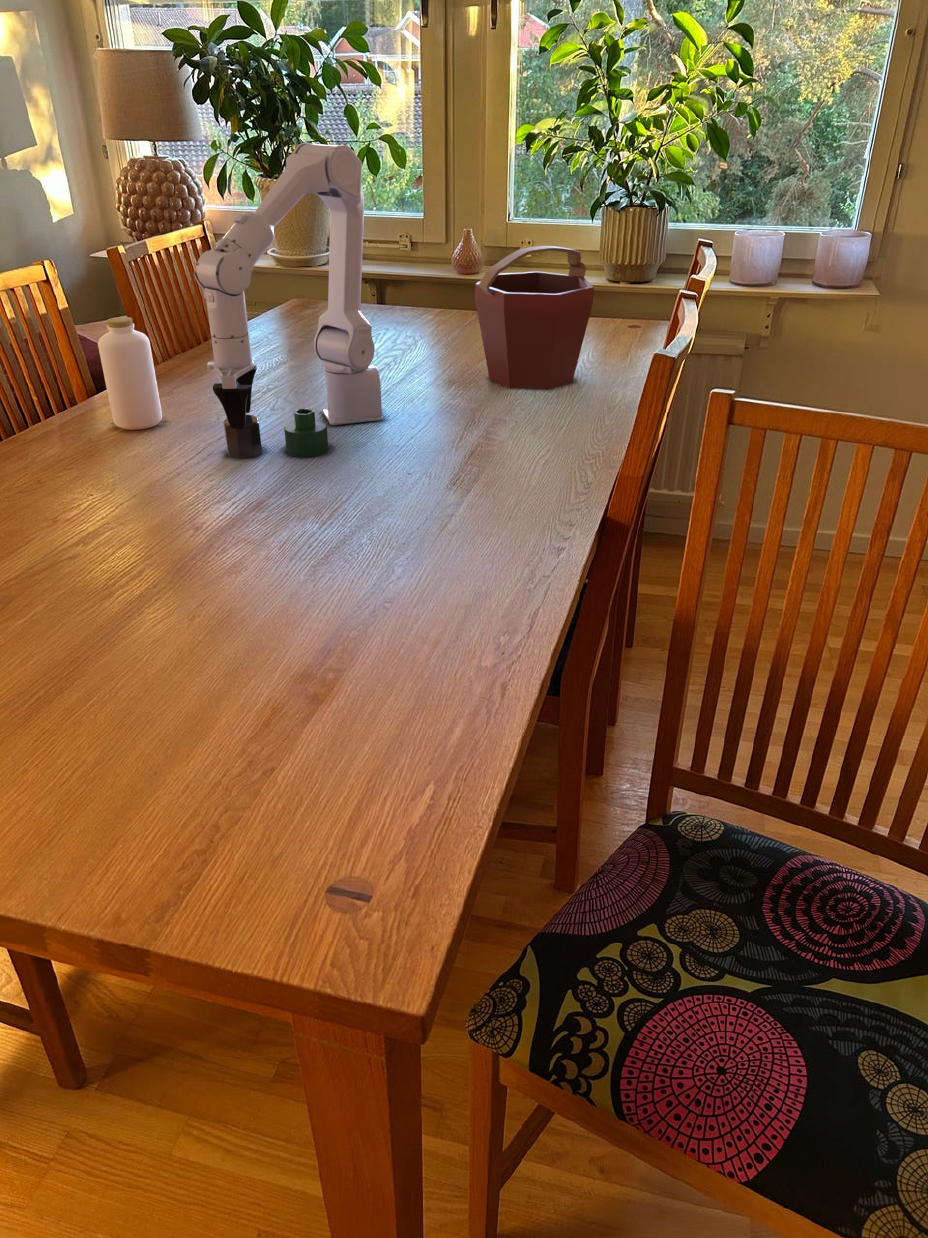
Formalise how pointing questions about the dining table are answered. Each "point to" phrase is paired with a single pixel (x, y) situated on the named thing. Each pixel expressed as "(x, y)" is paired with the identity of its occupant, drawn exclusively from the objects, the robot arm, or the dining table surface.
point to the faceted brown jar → (243, 439)
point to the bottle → (306, 435)
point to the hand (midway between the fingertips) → (240, 419)
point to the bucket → (533, 321)
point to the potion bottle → (129, 375)
